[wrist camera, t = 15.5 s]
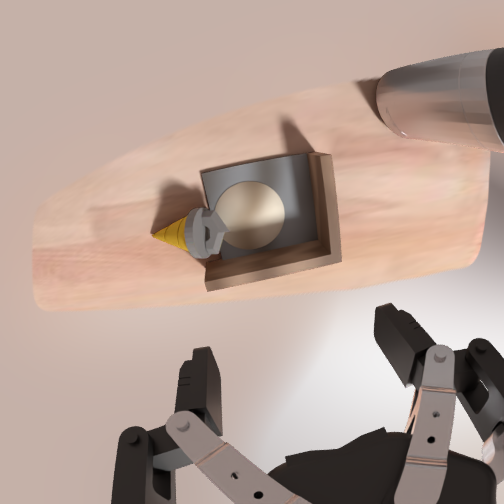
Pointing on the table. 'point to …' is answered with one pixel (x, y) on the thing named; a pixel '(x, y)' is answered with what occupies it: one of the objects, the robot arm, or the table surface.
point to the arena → (274, 218)
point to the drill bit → (196, 233)
